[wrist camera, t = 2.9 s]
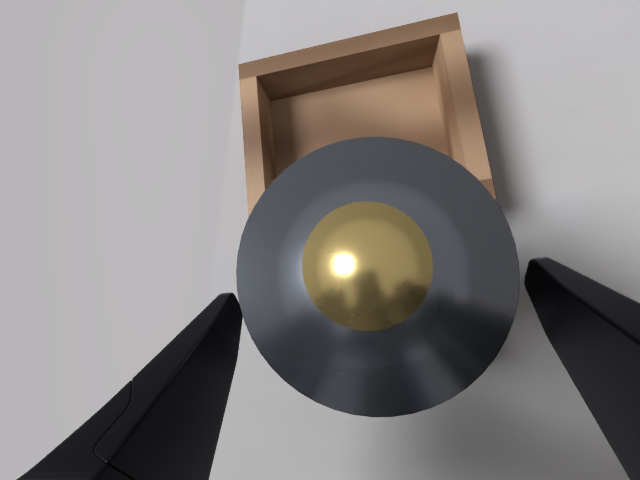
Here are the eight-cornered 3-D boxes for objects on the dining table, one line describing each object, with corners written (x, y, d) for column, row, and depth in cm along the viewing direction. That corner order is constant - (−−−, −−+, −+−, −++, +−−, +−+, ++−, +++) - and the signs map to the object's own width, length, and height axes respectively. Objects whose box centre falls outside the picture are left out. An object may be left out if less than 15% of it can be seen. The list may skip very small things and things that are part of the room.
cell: (375, 344, 17) (375, 522, 4) (311, 281, 18) (160, 270, 5) (437, 278, 17) (630, 255, 4) (369, 219, 18) (356, 58, 5)
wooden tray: (475, 214, 17) (496, 199, 14) (269, 242, 19) (249, 234, 16) (444, 55, 19) (457, 12, 16) (258, 96, 20) (238, 64, 18)
